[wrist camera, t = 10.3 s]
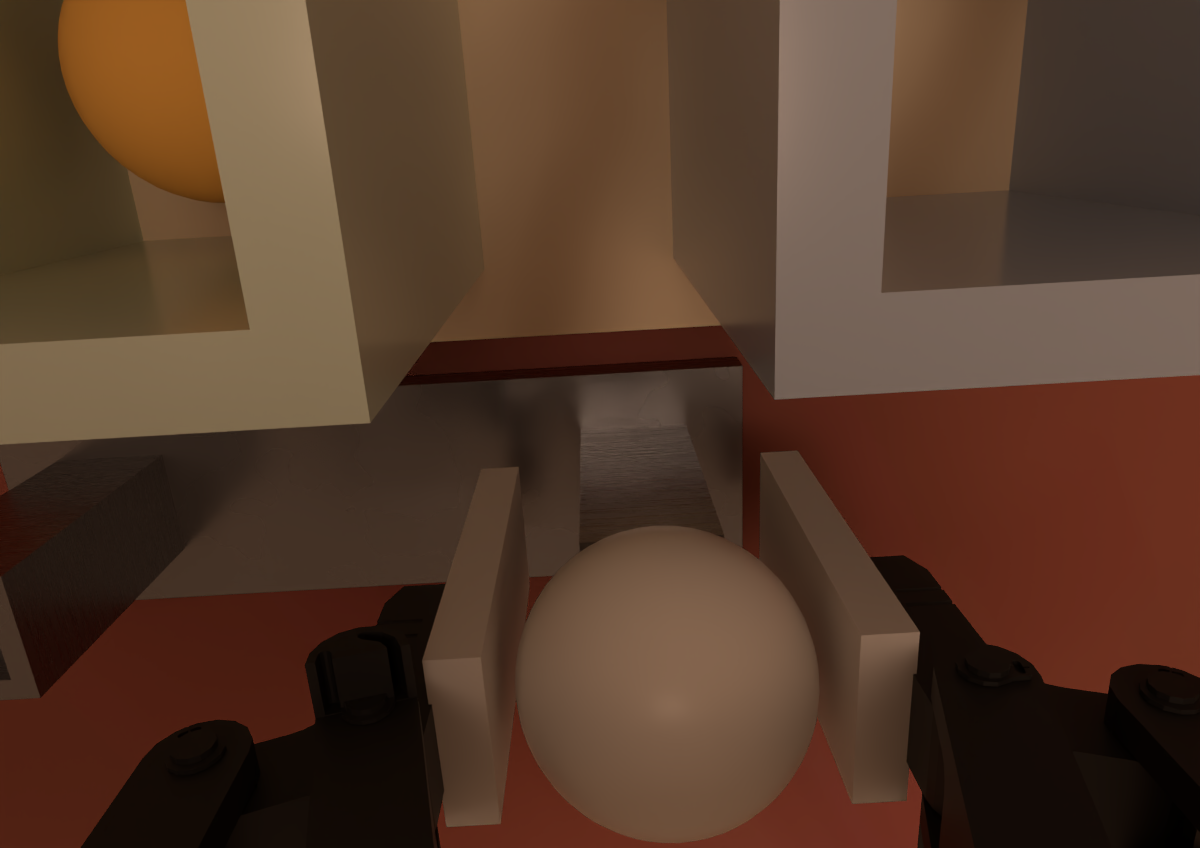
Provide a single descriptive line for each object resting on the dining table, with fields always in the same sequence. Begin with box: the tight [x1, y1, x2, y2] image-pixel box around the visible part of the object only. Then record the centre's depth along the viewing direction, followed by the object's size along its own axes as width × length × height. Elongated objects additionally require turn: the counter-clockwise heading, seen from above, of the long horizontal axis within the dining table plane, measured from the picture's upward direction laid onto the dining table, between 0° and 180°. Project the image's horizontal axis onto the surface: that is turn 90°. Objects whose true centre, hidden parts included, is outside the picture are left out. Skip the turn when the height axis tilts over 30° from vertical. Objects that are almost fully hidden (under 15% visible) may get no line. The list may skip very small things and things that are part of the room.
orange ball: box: [58, 0, 225, 203], centre depth 14 cm, size 4×4×4 cm
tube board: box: [127, 0, 1028, 342], centre depth 17 cm, size 26×11×1 cm, turn 93°
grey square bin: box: [666, 0, 1200, 400], centre depth 12 cm, size 8×8×10 cm
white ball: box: [515, 526, 820, 843], centre depth 12 cm, size 4×4×4 cm
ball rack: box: [0, 357, 742, 700], centre depth 17 cm, size 17×5×6 cm, turn 93°
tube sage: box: [0, 0, 484, 445], centre depth 12 cm, size 8×8×10 cm
